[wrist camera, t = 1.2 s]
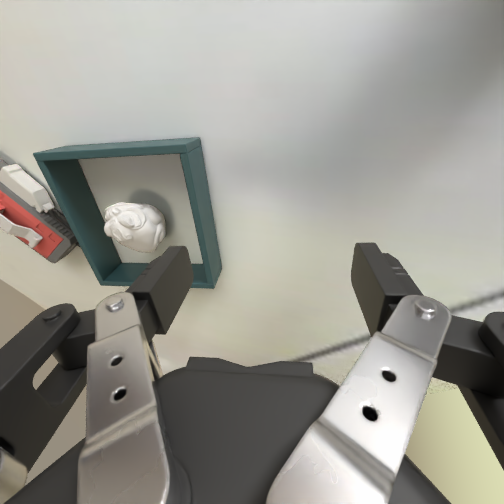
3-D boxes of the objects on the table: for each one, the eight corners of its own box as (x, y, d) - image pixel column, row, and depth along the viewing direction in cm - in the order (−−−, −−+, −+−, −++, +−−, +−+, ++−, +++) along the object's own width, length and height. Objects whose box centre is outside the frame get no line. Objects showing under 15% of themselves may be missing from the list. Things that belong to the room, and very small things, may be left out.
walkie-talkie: (101, 231, 35) (-47, 106, 28) (79, 247, 31) (-99, 107, 24) (73, 260, 39) (-64, 156, 32) (51, 278, 35) (-110, 164, 28)
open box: (65, 145, 29) (32, 153, 25) (200, 137, 26) (185, 144, 23) (118, 267, 38) (100, 285, 34) (222, 268, 36) (214, 288, 32)
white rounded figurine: (153, 180, 30) (121, 200, 24) (185, 228, 33) (162, 256, 27) (118, 198, 32) (79, 221, 26) (150, 242, 35) (123, 271, 29)
